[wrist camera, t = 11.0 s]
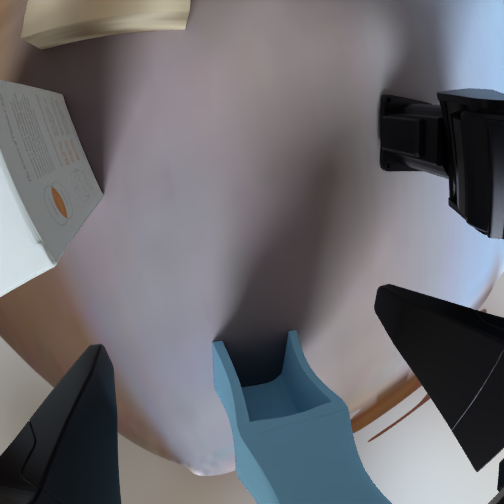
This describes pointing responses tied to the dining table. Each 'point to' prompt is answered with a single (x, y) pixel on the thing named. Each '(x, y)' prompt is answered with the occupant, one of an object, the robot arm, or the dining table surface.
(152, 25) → the cream square block
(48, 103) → the small box
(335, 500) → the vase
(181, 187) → the dining table surface
